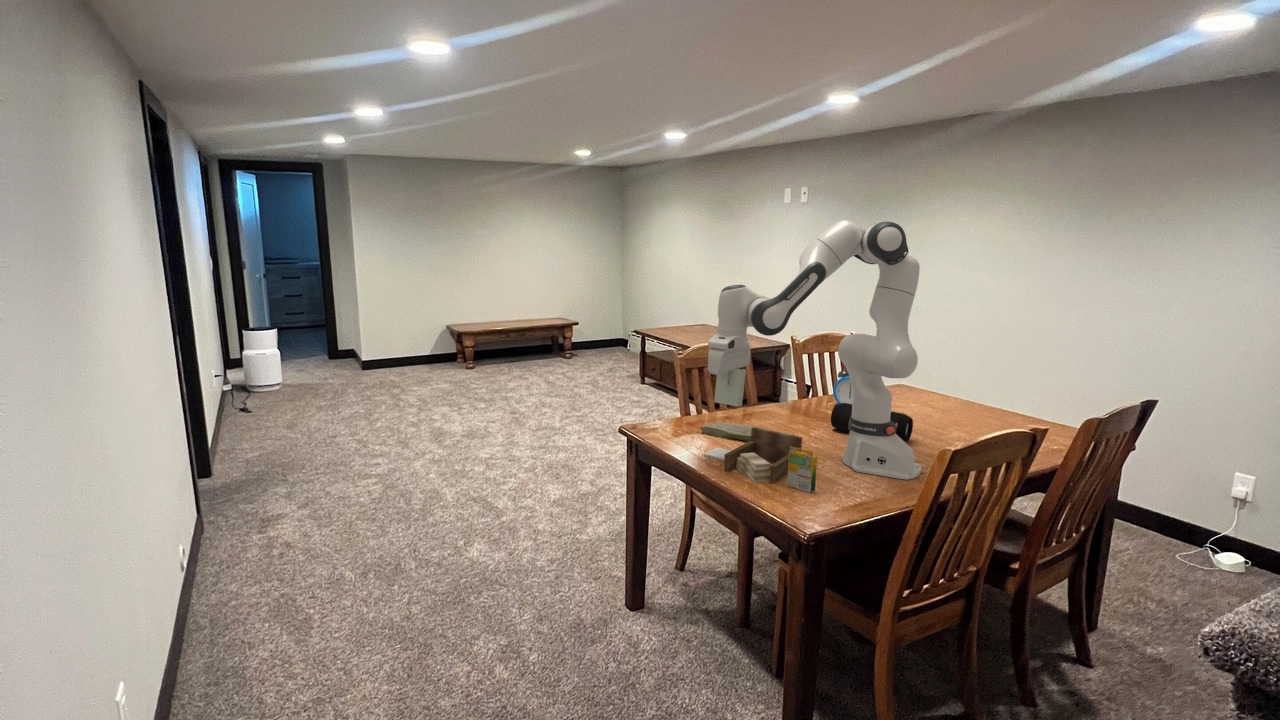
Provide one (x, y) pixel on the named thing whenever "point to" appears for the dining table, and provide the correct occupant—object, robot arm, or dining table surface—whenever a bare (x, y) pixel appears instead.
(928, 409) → the dining table surface
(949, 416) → the dining table surface
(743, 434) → the stone slab
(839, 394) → the alarm clock
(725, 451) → the grey plate
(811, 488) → the crayon box
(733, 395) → the pale green block
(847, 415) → the portable speaker
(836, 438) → the dining table surface
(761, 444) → the walnut corral
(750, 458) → the offcut stack
